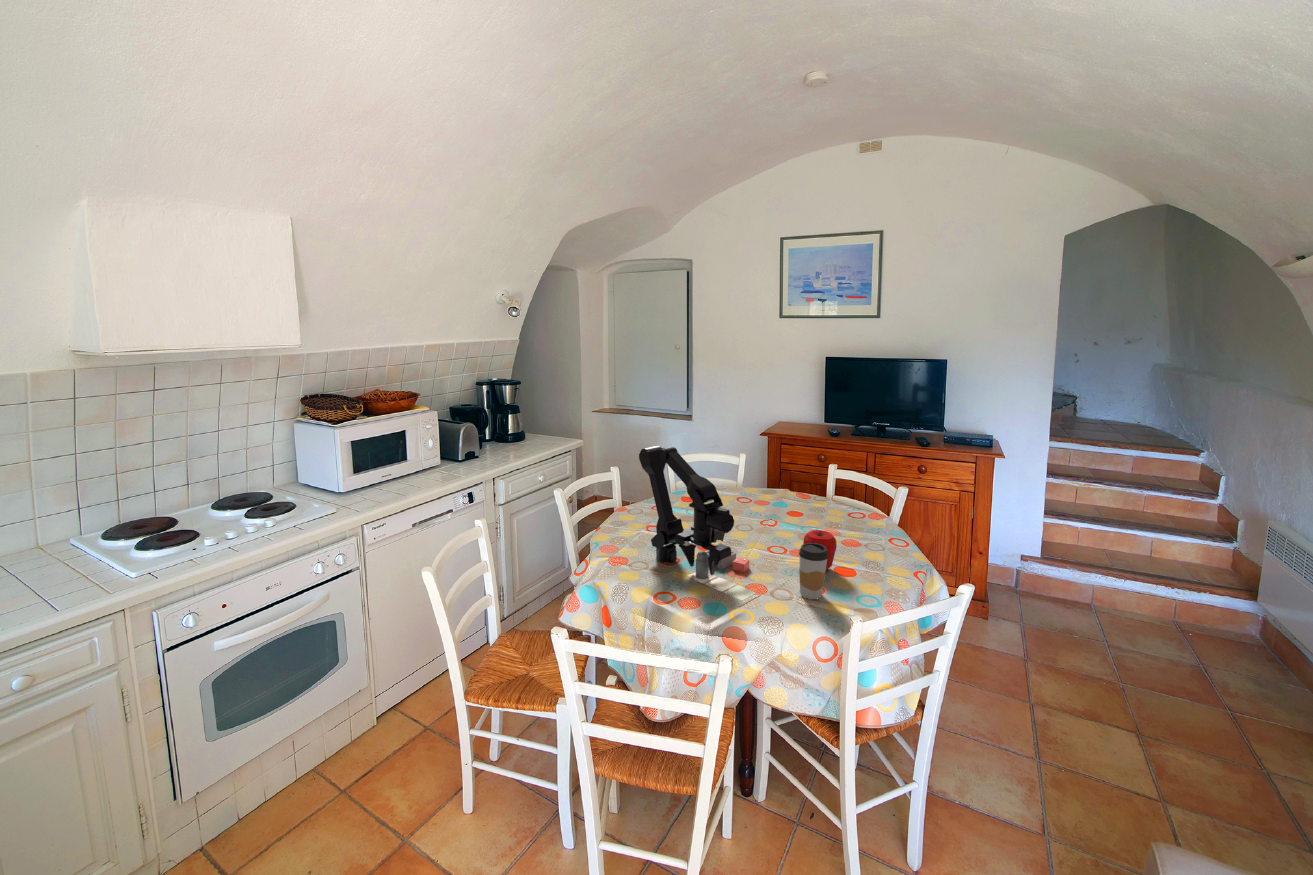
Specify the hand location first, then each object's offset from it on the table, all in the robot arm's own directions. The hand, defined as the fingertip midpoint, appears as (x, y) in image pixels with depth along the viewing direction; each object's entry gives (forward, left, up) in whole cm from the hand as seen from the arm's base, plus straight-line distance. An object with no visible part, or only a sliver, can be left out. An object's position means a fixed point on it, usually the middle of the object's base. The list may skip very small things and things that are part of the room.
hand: (702, 570), depth 188 cm
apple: (+21, +33, -3) cm, 39 cm away
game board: (+8, 0, -3) cm, 8 cm away
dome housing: (-3, +12, -3) cm, 13 cm away
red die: (+5, +13, -3) cm, 14 cm away
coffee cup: (+29, +16, -3) cm, 33 cm away
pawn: (0, 0, -2) cm, 2 cm away
